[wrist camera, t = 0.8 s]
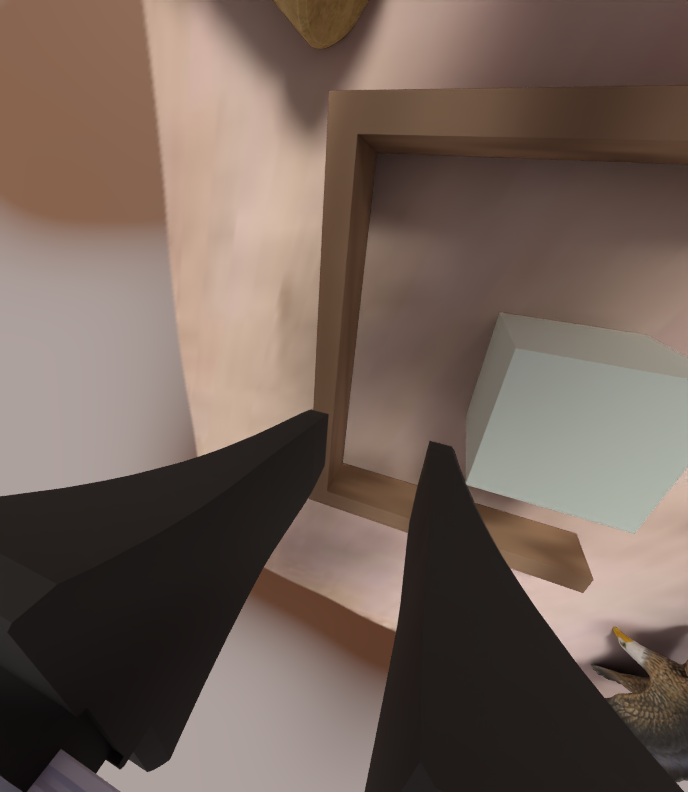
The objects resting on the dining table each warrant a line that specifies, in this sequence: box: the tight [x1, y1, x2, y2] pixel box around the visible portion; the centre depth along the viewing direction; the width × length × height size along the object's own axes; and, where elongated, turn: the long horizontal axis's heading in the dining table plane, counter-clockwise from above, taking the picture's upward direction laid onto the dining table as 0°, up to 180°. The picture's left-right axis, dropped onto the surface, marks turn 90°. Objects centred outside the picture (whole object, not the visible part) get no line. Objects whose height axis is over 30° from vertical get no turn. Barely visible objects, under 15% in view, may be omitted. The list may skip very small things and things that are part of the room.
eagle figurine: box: [591, 627, 688, 782], centre depth 18 cm, size 8×7×9 cm
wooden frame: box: [309, 85, 688, 593], centre depth 15 cm, size 16×20×3 cm
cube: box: [466, 312, 688, 534], centre depth 13 cm, size 6×6×6 cm
